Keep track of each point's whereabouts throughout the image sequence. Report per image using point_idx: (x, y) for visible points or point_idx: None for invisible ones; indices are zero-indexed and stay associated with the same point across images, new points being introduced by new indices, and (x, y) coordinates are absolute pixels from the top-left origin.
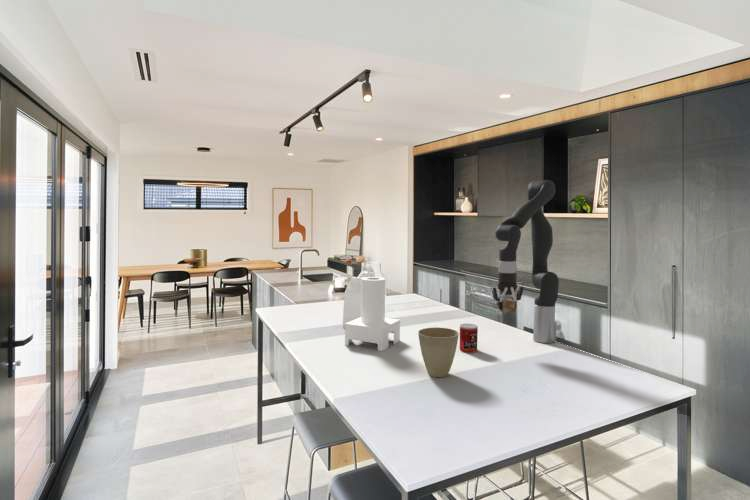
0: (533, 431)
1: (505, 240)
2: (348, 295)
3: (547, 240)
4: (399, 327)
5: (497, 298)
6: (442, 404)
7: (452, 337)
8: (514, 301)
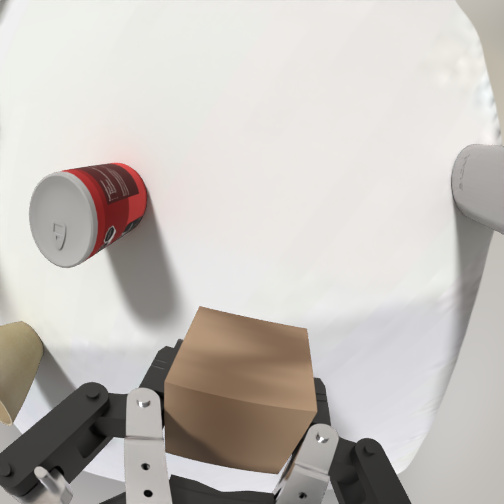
0: None
1: None
2: None
3: None
4: None
5: (104, 439)
6: (44, 413)
7: (7, 423)
8: (272, 470)
